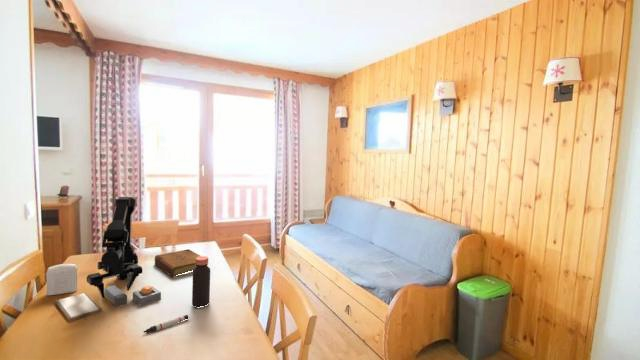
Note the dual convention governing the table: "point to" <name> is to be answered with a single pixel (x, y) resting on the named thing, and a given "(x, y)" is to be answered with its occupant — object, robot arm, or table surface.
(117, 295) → the grey rectangular block
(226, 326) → the table surface
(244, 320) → the table surface
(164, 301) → the table surface
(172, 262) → the diary
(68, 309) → the drawing board
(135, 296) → the button housing
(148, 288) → the button
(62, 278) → the photo printer
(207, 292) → the bottle
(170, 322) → the marker
